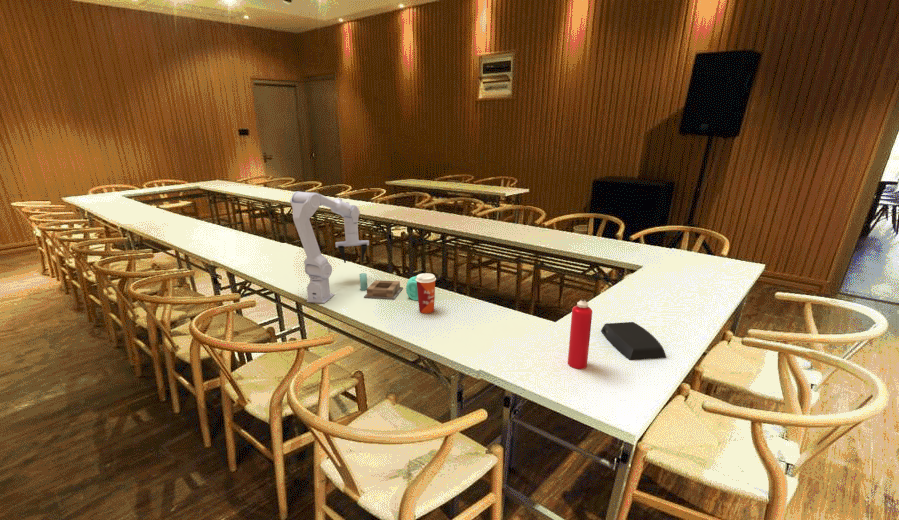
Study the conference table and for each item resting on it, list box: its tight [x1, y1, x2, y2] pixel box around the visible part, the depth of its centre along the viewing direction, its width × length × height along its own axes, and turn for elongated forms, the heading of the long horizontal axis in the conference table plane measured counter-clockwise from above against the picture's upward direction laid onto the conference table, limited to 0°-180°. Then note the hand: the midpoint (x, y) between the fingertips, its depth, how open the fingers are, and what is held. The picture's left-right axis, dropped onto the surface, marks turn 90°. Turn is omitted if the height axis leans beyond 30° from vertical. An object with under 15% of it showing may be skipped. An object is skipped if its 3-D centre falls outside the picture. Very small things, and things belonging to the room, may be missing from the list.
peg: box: [359, 272, 369, 292], centre depth 181 cm, size 3×3×7 cm
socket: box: [363, 279, 404, 301], centre depth 177 cm, size 13×13×4 cm
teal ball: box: [405, 275, 418, 302], centre depth 172 cm, size 8×8×8 cm
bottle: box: [567, 299, 593, 370], centre depth 119 cm, size 5×5×20 cm
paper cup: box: [416, 272, 437, 314], centre depth 158 cm, size 8×8×14 cm
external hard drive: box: [600, 321, 667, 361], centre depth 133 cm, size 13×19×4 cm
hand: (353, 261), depth 188 cm, fingers open, 7 cm apart
